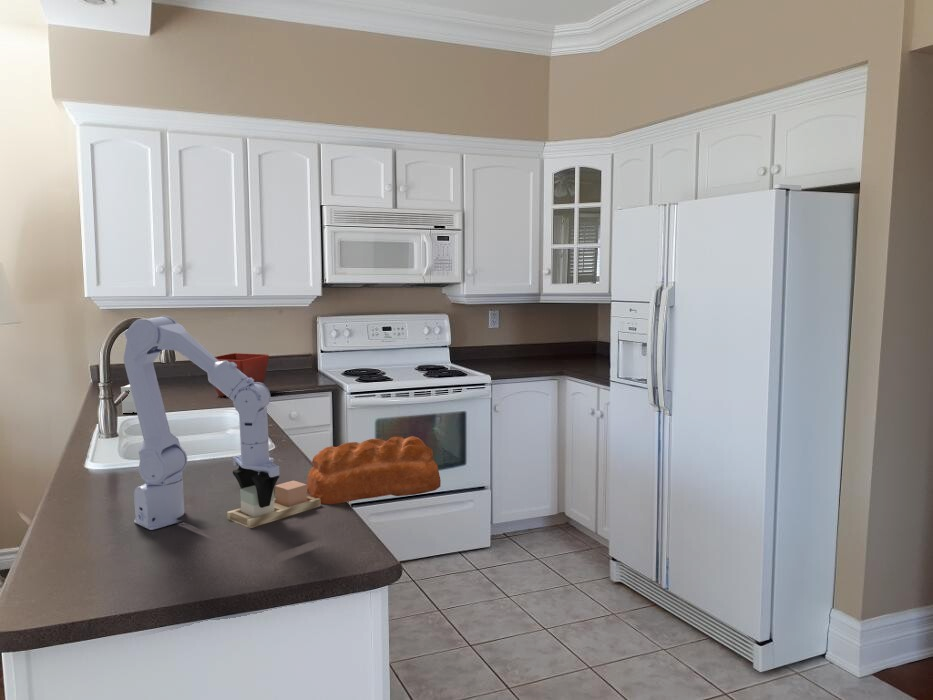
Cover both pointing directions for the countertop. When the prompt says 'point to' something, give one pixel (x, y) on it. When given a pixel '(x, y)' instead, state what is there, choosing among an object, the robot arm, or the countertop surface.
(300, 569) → the countertop surface
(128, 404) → the small box
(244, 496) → the two tone brick
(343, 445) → the bread
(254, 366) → the plant pot
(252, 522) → the socket board
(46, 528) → the countertop surface
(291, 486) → the terracotta brick
